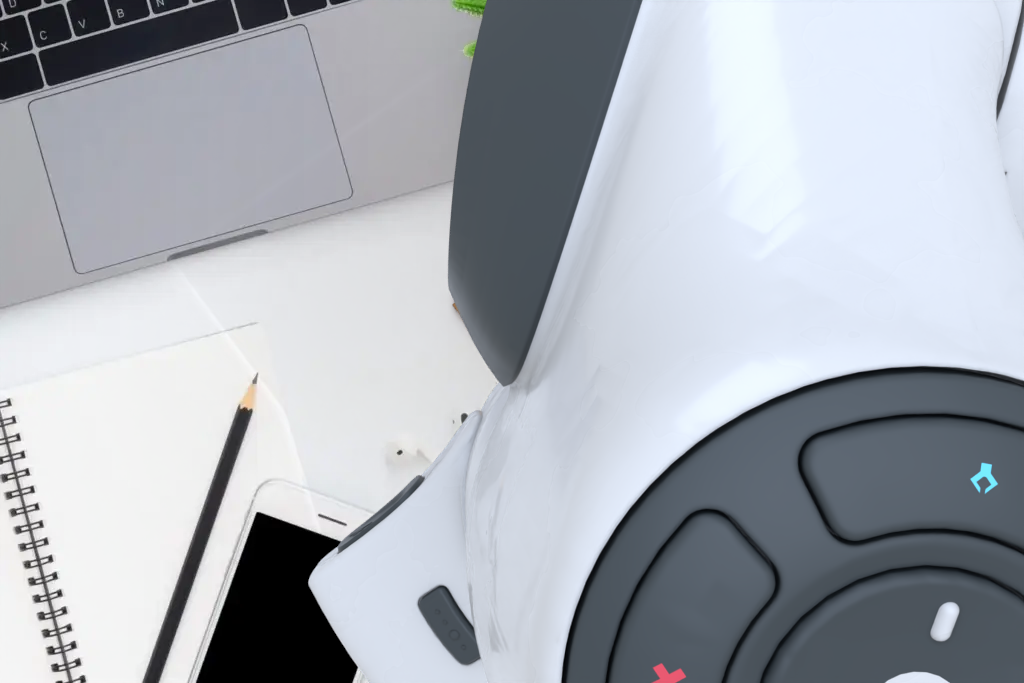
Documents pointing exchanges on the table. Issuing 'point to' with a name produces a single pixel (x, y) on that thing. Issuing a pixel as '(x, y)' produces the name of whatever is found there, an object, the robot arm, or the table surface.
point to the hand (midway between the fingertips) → (568, 437)
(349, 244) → the table surface
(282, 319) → the table surface
